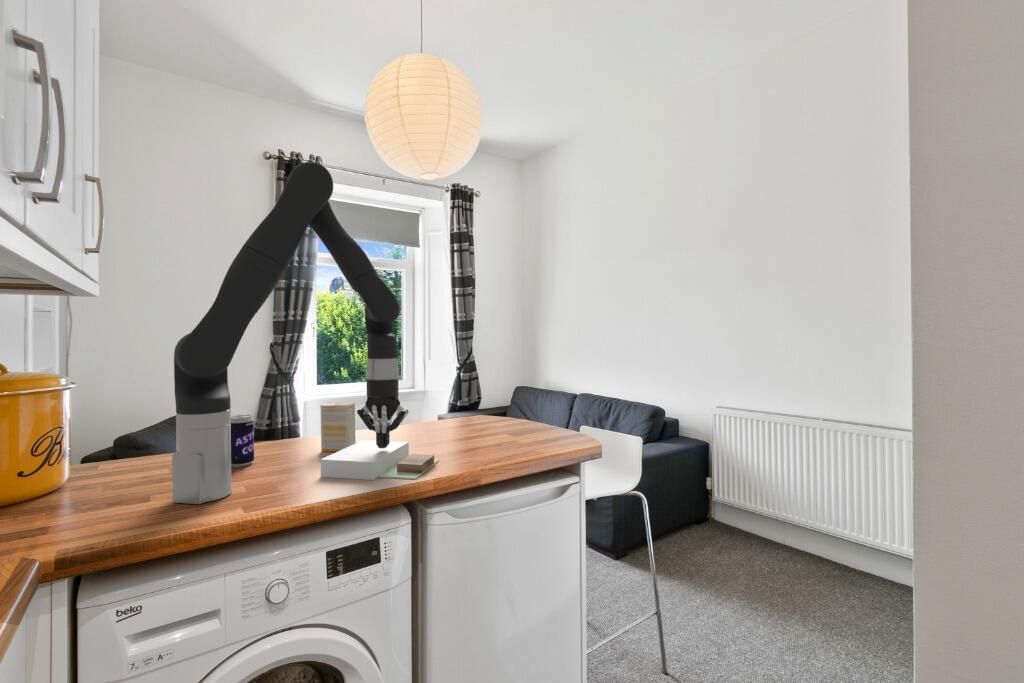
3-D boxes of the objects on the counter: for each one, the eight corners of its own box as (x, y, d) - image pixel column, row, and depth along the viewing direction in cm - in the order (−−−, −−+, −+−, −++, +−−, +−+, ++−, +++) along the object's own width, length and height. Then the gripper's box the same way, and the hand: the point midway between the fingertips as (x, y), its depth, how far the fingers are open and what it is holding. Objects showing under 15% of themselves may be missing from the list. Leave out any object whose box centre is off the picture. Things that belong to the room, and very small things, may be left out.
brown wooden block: (396, 463, 112) (397, 472, 113) (421, 464, 111) (421, 473, 112) (411, 454, 121) (411, 461, 121) (434, 455, 120) (434, 463, 120)
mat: (415, 479, 108) (415, 478, 108) (377, 477, 109) (377, 476, 109) (438, 460, 124) (438, 459, 124) (405, 459, 125) (405, 457, 125)
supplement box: (356, 448, 137) (356, 402, 137) (349, 452, 132) (348, 404, 132) (328, 447, 138) (328, 402, 138) (320, 451, 133) (319, 404, 133)
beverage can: (234, 468, 116) (233, 419, 116) (224, 465, 120) (223, 417, 120) (258, 463, 121) (257, 416, 121) (247, 460, 124) (247, 413, 124)
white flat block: (373, 480, 108) (373, 462, 107) (320, 476, 110) (320, 459, 110) (408, 457, 127) (408, 442, 127) (363, 454, 130) (363, 440, 129)
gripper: (349, 377, 115) (350, 450, 115) (401, 378, 112) (402, 452, 113) (364, 375, 122) (365, 443, 123) (414, 375, 120) (414, 445, 120)
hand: (383, 447), depth 118 cm, fingers closed
